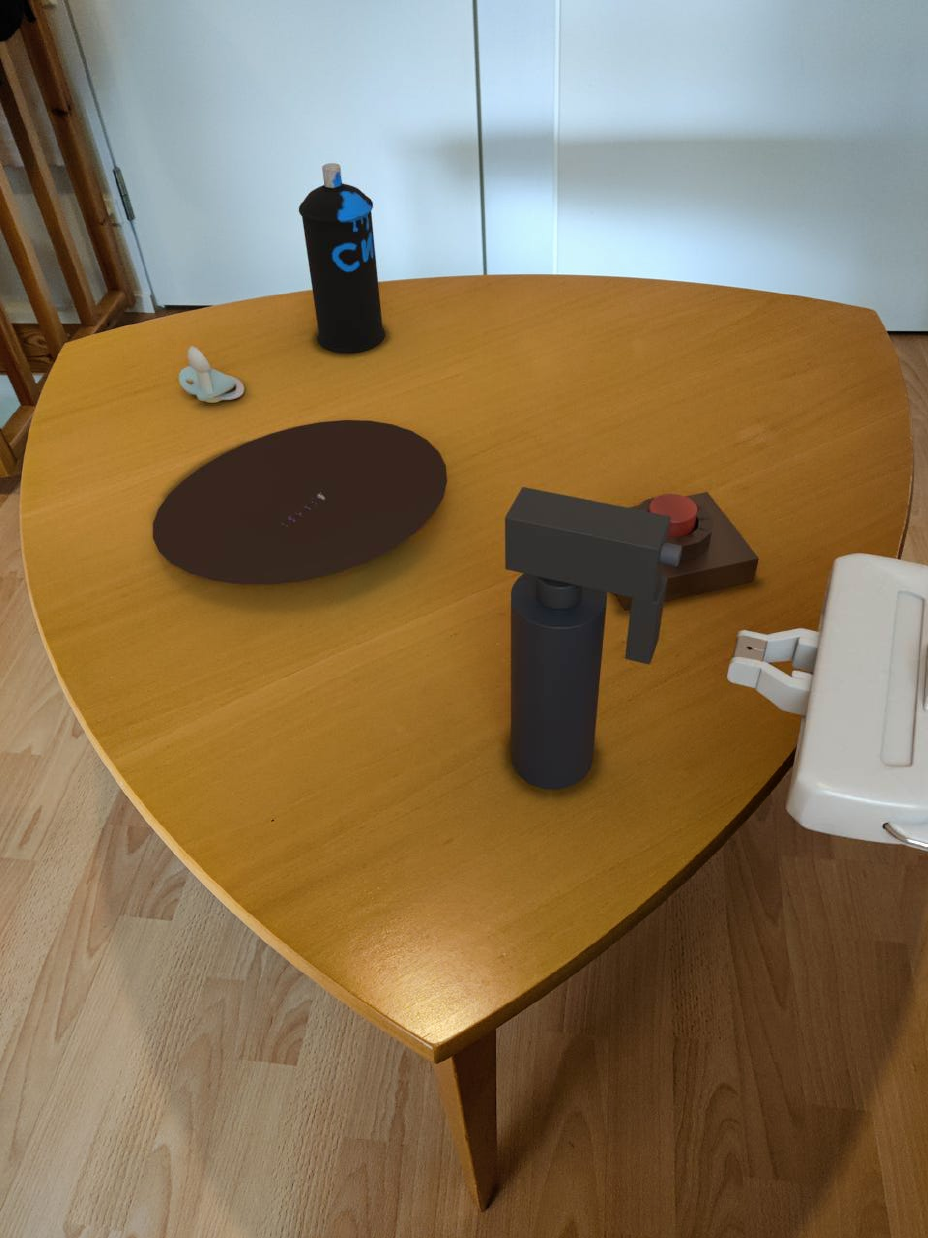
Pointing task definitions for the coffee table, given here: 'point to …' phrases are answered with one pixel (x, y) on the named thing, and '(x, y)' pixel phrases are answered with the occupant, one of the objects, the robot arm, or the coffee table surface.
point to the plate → (302, 503)
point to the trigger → (645, 626)
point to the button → (676, 513)
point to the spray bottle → (569, 619)
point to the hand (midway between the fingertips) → (732, 654)
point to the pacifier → (208, 380)
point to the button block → (706, 554)
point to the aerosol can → (342, 264)
